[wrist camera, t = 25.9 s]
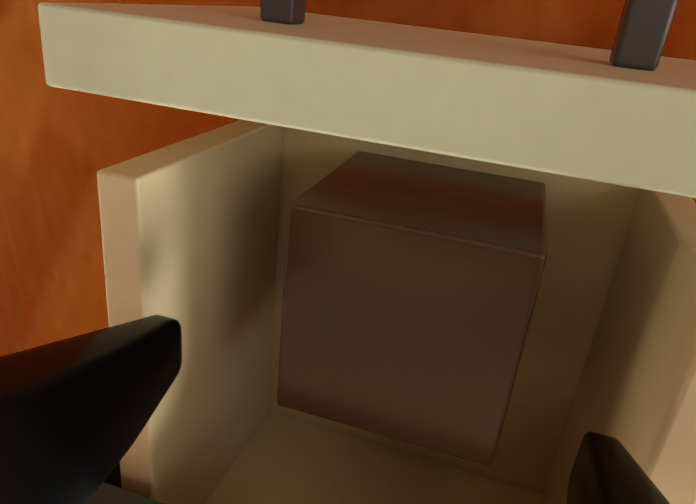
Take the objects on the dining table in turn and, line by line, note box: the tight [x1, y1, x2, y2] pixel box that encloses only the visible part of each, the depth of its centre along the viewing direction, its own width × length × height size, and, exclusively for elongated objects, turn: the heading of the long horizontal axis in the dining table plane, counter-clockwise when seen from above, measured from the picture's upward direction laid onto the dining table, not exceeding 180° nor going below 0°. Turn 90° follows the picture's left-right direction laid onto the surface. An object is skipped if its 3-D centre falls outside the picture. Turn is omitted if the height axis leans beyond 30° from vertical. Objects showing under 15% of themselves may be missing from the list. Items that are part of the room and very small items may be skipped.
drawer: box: [38, 0, 696, 504], centre depth 12 cm, size 18×11×7 cm, turn 174°
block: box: [277, 151, 547, 466], centre depth 13 cm, size 4×4×4 cm
